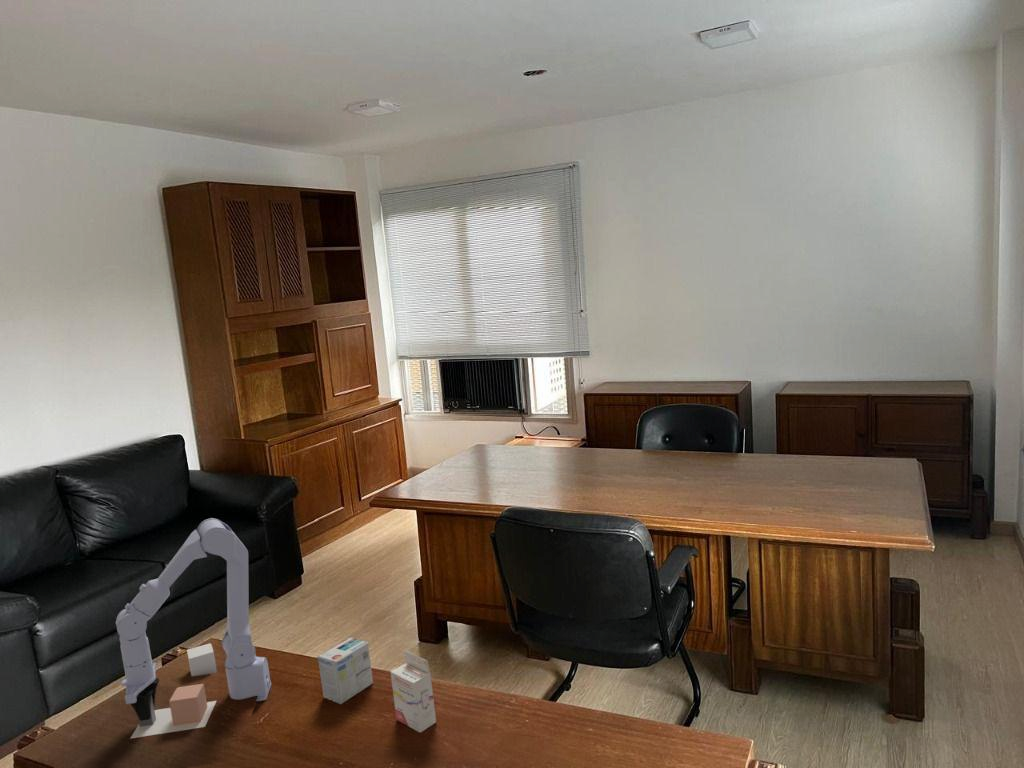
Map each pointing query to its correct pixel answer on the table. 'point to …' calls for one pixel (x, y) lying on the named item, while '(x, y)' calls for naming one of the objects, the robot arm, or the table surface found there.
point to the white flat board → (167, 722)
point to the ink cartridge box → (413, 693)
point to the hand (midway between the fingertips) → (147, 716)
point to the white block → (201, 660)
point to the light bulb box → (345, 670)
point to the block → (188, 704)
